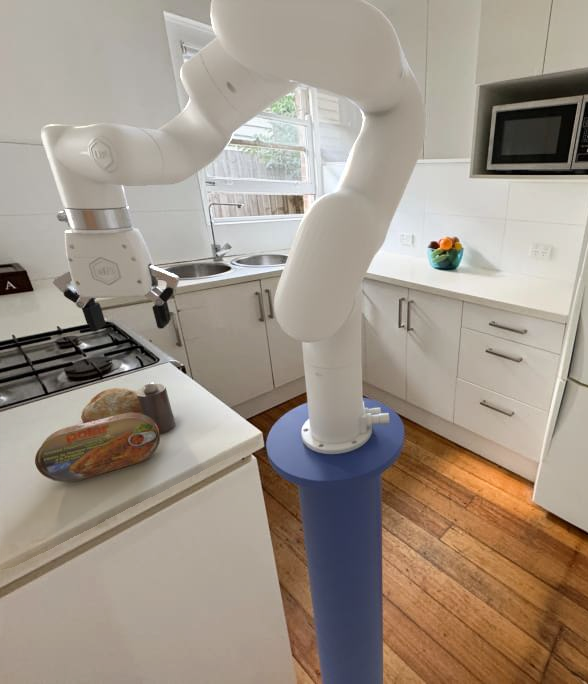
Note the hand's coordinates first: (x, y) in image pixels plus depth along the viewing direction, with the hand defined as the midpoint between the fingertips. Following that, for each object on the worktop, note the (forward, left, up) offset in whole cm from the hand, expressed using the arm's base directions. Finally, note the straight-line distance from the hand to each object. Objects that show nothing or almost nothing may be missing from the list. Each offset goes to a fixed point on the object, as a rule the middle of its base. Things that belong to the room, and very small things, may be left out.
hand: (132, 327), depth 64 cm
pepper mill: (-1, +1, -20) cm, 20 cm away
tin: (+3, +11, -20) cm, 23 cm away
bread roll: (+8, -3, -20) cm, 22 cm away
